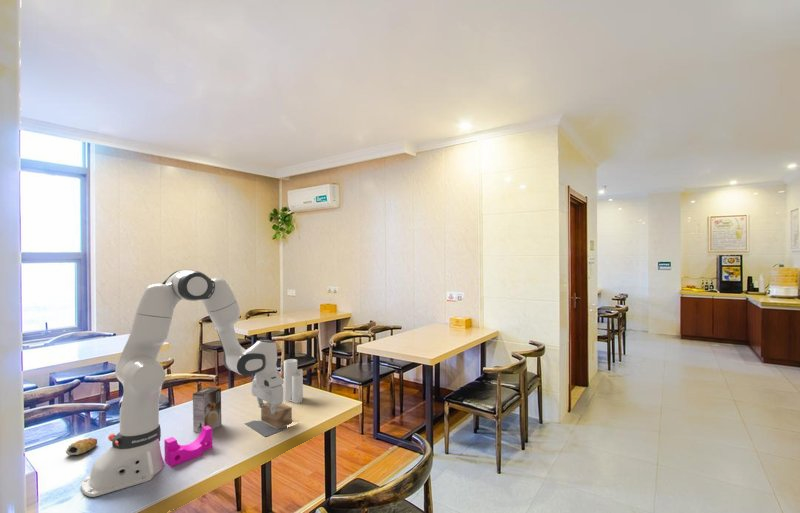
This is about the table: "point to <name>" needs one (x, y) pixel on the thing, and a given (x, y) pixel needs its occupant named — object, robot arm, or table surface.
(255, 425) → the mat
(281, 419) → the wooden brick
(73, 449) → the pastry
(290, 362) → the three-tube pen holder
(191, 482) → the table surface
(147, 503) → the table surface
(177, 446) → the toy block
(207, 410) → the coffee box
